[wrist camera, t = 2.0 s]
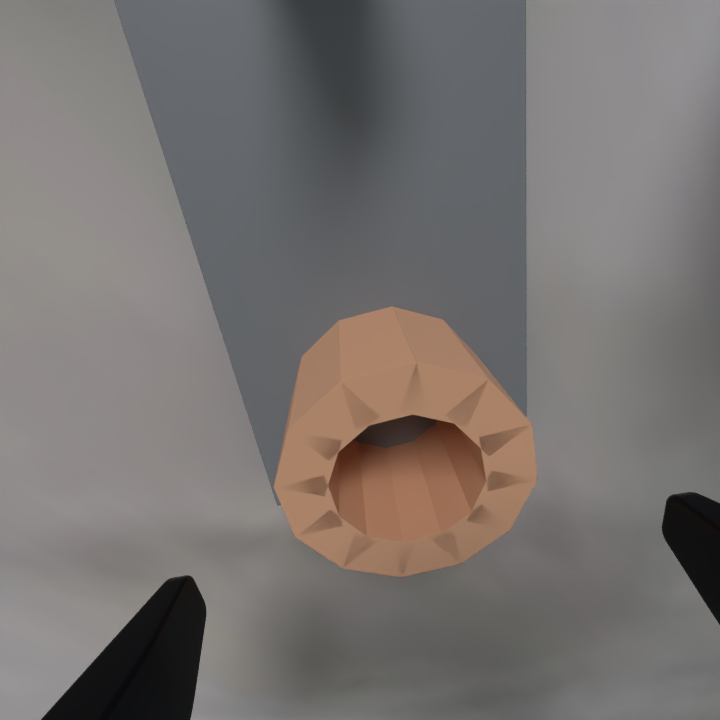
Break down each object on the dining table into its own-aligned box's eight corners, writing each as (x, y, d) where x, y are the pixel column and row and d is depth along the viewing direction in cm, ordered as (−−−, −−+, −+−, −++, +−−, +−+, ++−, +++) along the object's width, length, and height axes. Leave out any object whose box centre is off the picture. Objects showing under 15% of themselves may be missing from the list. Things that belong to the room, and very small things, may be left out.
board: (510, 438, 16) (613, 592, 10) (282, 477, 16) (251, 651, 10) (495, -261, 9) (833, -1192, 3) (81, -179, 9) (-429, -895, 3)
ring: (509, 336, 13) (581, 400, 9) (442, 488, 15) (478, 588, 11) (318, 287, 12) (310, 336, 8) (277, 457, 14) (256, 555, 10)
